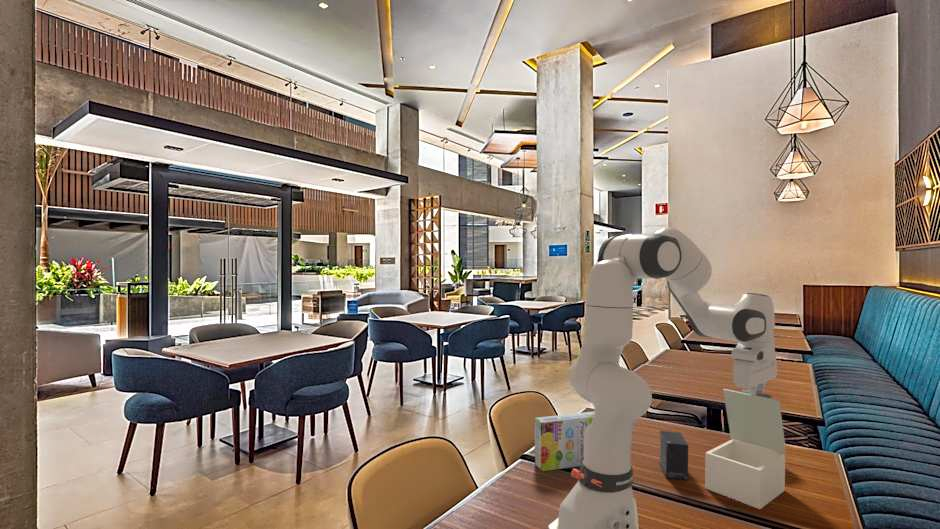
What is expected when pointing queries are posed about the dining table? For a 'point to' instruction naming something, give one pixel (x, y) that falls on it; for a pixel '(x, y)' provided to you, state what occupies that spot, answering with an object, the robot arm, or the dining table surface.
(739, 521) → the dining table surface
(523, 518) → the dining table surface
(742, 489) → the carton
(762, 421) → the lid
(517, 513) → the dining table surface
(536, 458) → the snack box
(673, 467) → the small box
